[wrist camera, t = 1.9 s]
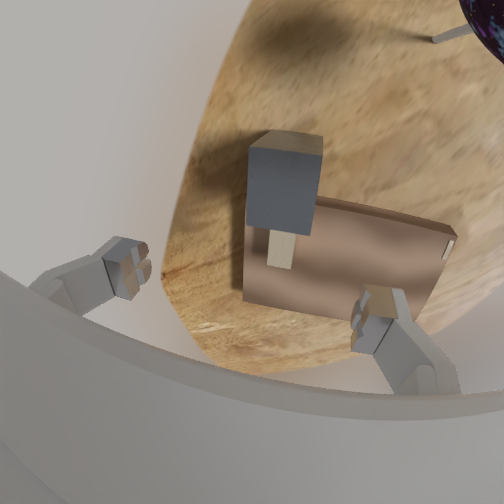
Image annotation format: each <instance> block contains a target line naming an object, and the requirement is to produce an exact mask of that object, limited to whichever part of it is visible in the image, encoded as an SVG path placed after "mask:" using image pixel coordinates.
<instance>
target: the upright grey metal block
mask: <svg viewBox="0 0 504 504" xmlns="http://www.w3.org/2000/svg"><path fill="white" fill-rule="evenodd" d="M322 156H323V136H318V135H311V134H305V133H297V132H289V131H281V130H271V131H269V132H268V133H266V134H265V135H264V136H262V137H261V138H260V139H258V140H257V141H255V142H254V143H253V144H251V145H250V146H249V156H248V181H247V207H246V226H252V227H258V228H264V229H270V237H269V248H268V258H267V265H269V266H275V267H280V268H286V269H291V265H292V260H293V254H294V248H295V241H296V235H297V234H300V235H305V236H310V233H311V228H312V222H313V216H314V210H315V204H316V197H317V191H318V184H319V178H320V171H321V163H322Z"/></svg>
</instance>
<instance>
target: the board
mask: <svg viewBox="0 0 504 504" xmlns="http://www.w3.org/2000/svg"><path fill="white" fill-rule="evenodd" d="M246 207H247V194H246V206H245V235H244V267H243V301H245V302H249V303H254V304H259V305H264V306H269V307H274V308H279V309H284V310H289V311H295V312H300V313H306V314H311V315H317V316H323V317H328V318H334V319H341V320H347V321H351V314H352V310H353V307H354V304H355V302H356V301H357V300H358V299H359V291H360V288H361V286H362V284H363V283H365V284H371V285H377V286H383V287H393V288H400V289H403V290H404V293H405V297H406V300H407V304H408V308H409V311H410V315H411V319H412V321H414V322H415V320H416V319H417V317H418V315H419V314H420V312H421V310H422V309H423V307H424V305H425V303H426V302H427V300H428V298H429V296H430V294H431V293H432V291H433V289H434V287H435V285H436V283H437V281H438V279H439V277H440V275H441V273H442V271H443V269H444V267H445V265H446V263H447V260H448V258H449V256H450V254H451V252H452V249H453V247H454V245H455V242H456V240H457V237H458V236H457V235H456V233H455V232H454V230H453V229H452V228H451V226H449V225H445V224H442V223H438V222H434V221H431V220H427V219H423V218H419V217H415V216H411V215H407V214H402V213H398V212H394V211H390V210H385V209H381V208H376V207H371V206H367V205H362V204H357V203H352V202H347V201H342V200H336V199H331V198H325V197H320V196H317V197H316V204H315V210H314V216H313V222H312V228H311V233H310V236H305V235H300V234H297V235H296V241H295V248H294V254H293V260H292V265H291V269H286V268H280V267H275V266H269V265H267V258H268V248H269V237H270V229H264V228H258V227H252V226H246Z"/></svg>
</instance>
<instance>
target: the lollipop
mask: <svg viewBox="0 0 504 504" xmlns="http://www.w3.org/2000/svg"><path fill="white" fill-rule="evenodd" d="M459 2H460V5H461V8H462V11H463V13H464V15H465V18H466V19H467V21H468V24H465V25H462V26H460V27H457V28H454V29H452V30H449V31H447V32H444V33H442V34H439V35H437V36H434V37H432V41H433V42H434V43H435V44H438V43H441V42H444V41H447V40H450V39H454V38H457V37H460V36H463V35H467V34H471V33H475V34H476V36H477V37H478V38H479V40H480V41H481V42H482V43H483V44H484V46H485V47H486V48H487V49H488V50H489V51H490V52H491V53H492V54H493V55H494V56H495V57H496V58H497V59H499V60H500V61H501V62H502V63H503V64H504V0H459Z"/></svg>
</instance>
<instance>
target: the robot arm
mask: <svg viewBox="0 0 504 504" xmlns="http://www.w3.org/2000/svg"><path fill="white" fill-rule="evenodd" d="M148 252H149V250H148V246H147V244H146V243H145V242H141V241H137V240H132V239H128V238H124V237H119V236H115V237H112V238H111V239H110V240H109V241H108V242H106V243H105V244H104V245H103V246H102V247H101V248H100V249H98V250H97V251H96V252H95V253H94V254H93V255H91V256H90V255H87V256H85V257H82V258H79V259H77V260H74V261H71V262H69V263H66V264H63V265H61V266H58V267H55V268H53V269H50V270H48V271H45V272H44V273H43V274H41V275H40V276H39V277H38V278H37V279H36V280H35V281H34V282H33V283H32V284H31V285H30V286H29V287H28V288H27V287H25V286H24V285H22V284H21V283H19V282H17V281H16V280H14V279H13V278H11V277H9V276H8V275H6V274H5V273H3V272H2V271H0V504H504V390H498V391H491V392H482V393H471V394H461V390H460V385H459V380H458V376H457V371H456V367H455V365H454V364H453V363H452V361H451V360H450V359H449V358H448V357H447V356H446V355H445V353H444V352H443V351H442V350H441V349H440V348H439V347H438V346H437V345H436V343H435V342H434V341H433V340H432V339H431V338H430V337H429V336H428V334H427V333H426V332H425V331H424V330H423V329H422V328H421V327H420V326H419V325H418V324H417V323H416V322H414V321H412V319H411V315H410V311H409V308H408V304H407V300H406V297H405V293H404V290H403V289H400V288H393V287H383V286H377V285H371V284H365V283H363V284H362V286H361V288H360V291H359V299H358V300H357V301H356V302H355V304H354V307H353V310H352V314H351V328H352V329H353V333H352V335H351V351H352V352H358V353H364V354H371V355H373V357H374V358H375V360H376V362H377V364H378V365H379V367H380V369H381V370H382V372H383V374H384V375H385V377H386V379H387V381H388V382H389V384H390V386H391V388H392V389H393V391H394V394H393V395H389V394H374V393H361V392H351V391H342V390H332V389H326V388H318V387H312V386H305V385H299V384H293V383H288V382H282V381H278V380H272V379H268V378H262V377H258V376H254V375H249V374H245V373H241V372H237V371H233V370H229V369H225V368H221V367H217V366H214V365H211V364H207V363H204V362H200V361H196V360H193V359H190V358H187V357H184V356H181V355H178V354H175V353H172V352H168V351H166V350H163V349H160V348H157V347H154V346H151V345H149V344H146V343H143V342H141V341H138V340H136V339H133V338H130V337H128V336H125V335H123V334H120V333H118V332H115V331H113V330H111V329H109V328H106V327H104V326H102V325H99V324H97V323H95V322H93V321H91V320H88V319H86V318H84V317H82V316H83V315H84V314H86V313H88V312H89V311H91V310H93V309H94V308H96V307H98V306H100V305H101V304H103V303H105V302H107V301H108V300H110V299H112V298H113V297H115V296H117V297H120V298H124V299H127V300H130V301H131V300H132V299H133V298H134V296H135V295H136V294H137V293H138V292H139V290H140V289H139V286H140V285H142V284H145V283H146V282H147V280H148V279H149V277H150V274H151V268H152V266H151V261H150V260H149V259H148V257H147V254H148Z"/></svg>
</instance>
